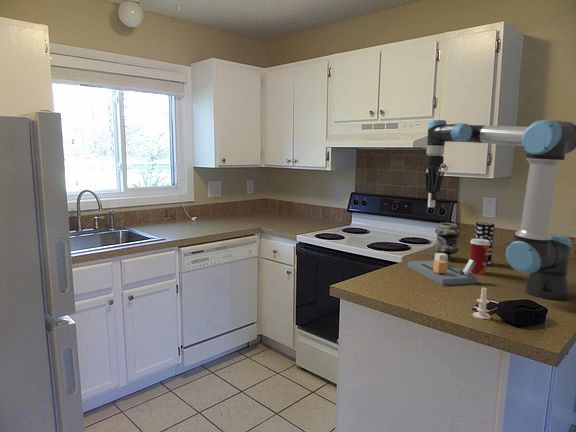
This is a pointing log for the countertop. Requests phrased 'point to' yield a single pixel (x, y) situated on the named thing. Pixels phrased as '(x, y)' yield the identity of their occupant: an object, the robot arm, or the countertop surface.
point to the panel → (447, 278)
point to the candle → (482, 306)
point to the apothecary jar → (447, 239)
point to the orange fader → (440, 266)
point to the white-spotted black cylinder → (485, 236)
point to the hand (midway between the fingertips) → (431, 207)
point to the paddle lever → (469, 266)
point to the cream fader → (441, 256)
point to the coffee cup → (479, 255)
